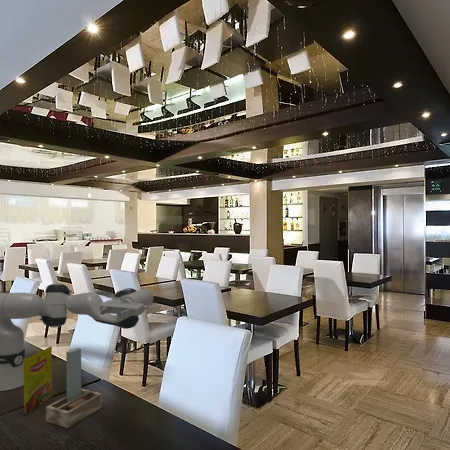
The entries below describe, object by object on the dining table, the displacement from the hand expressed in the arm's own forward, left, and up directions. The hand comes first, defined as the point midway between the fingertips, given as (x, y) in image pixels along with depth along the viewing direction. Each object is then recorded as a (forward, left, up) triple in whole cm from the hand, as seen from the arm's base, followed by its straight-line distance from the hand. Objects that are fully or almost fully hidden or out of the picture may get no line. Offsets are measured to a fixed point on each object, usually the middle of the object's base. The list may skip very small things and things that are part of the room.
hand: (110, 313), depth 159 cm
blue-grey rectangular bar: (+2, -22, -30) cm, 37 cm away
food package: (-13, -25, -31) cm, 42 cm away
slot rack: (+5, -24, -30) cm, 39 cm away
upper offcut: (+7, -25, -28) cm, 38 cm away
